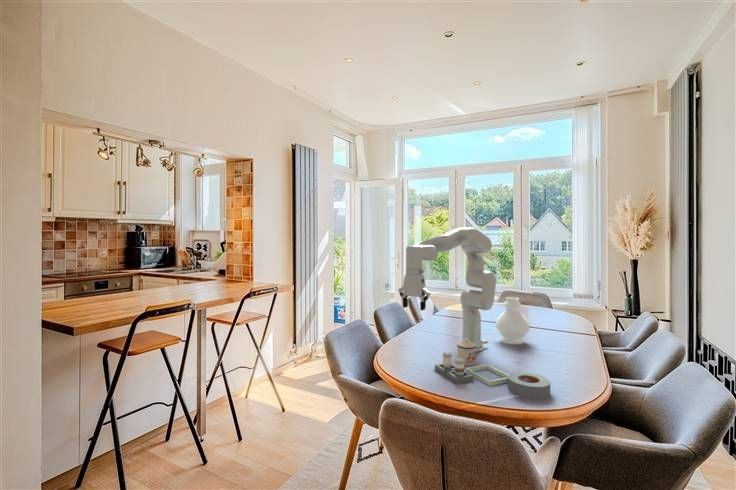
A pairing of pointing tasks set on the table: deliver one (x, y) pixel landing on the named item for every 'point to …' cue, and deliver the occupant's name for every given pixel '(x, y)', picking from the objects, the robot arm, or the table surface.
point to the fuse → (447, 360)
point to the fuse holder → (453, 375)
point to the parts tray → (490, 383)
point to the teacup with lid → (467, 351)
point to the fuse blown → (459, 367)
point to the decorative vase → (512, 322)
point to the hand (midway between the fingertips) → (413, 308)
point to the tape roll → (529, 385)
